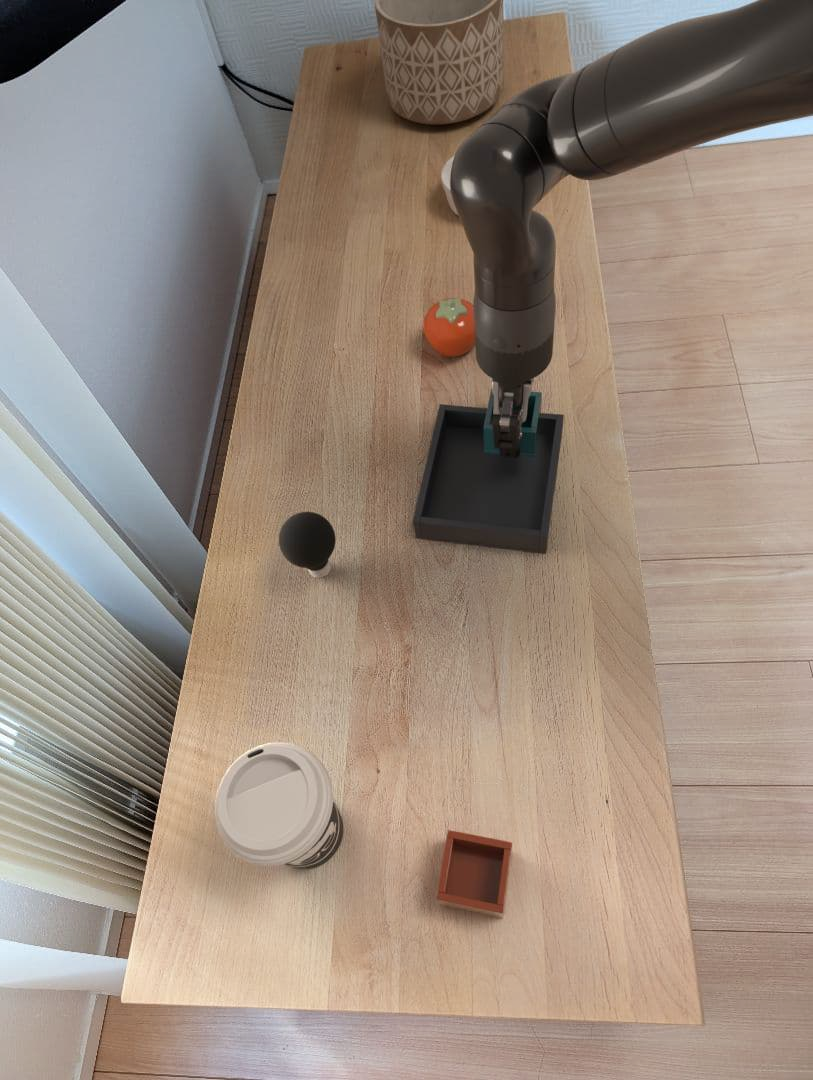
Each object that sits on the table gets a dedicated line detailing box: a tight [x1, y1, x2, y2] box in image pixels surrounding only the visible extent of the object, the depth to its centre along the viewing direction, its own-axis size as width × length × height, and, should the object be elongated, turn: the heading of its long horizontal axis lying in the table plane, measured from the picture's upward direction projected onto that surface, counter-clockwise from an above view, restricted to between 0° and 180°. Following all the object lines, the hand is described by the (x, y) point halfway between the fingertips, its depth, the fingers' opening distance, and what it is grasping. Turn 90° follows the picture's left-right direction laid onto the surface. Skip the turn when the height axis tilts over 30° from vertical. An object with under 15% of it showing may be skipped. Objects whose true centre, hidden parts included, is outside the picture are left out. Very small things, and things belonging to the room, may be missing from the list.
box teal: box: [484, 388, 543, 458], centre depth 86 cm, size 6×6×4 cm
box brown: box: [435, 829, 513, 919], centre depth 68 cm, size 6×6×4 cm
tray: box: [412, 403, 565, 555], centre depth 89 cm, size 15×17×4 cm
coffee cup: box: [214, 741, 344, 870], centre depth 67 cm, size 10×10×15 cm
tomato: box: [423, 297, 475, 358], centre depth 99 cm, size 7×7×8 cm
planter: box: [373, 0, 505, 126], centre depth 123 cm, size 19×19×16 cm
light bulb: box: [278, 511, 336, 579], centre depth 83 cm, size 6×6×10 cm
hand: (513, 432), depth 88 cm, fingers closed on box teal, 5 cm apart
